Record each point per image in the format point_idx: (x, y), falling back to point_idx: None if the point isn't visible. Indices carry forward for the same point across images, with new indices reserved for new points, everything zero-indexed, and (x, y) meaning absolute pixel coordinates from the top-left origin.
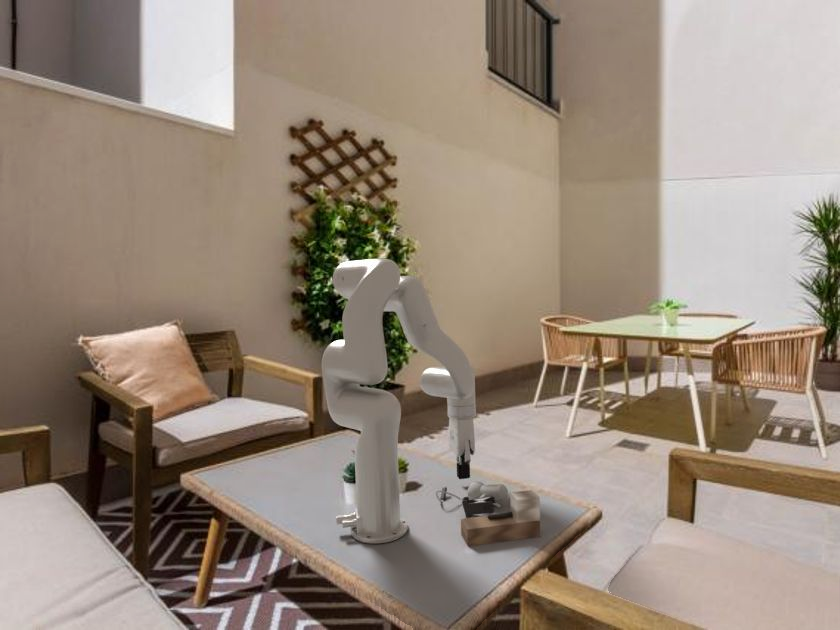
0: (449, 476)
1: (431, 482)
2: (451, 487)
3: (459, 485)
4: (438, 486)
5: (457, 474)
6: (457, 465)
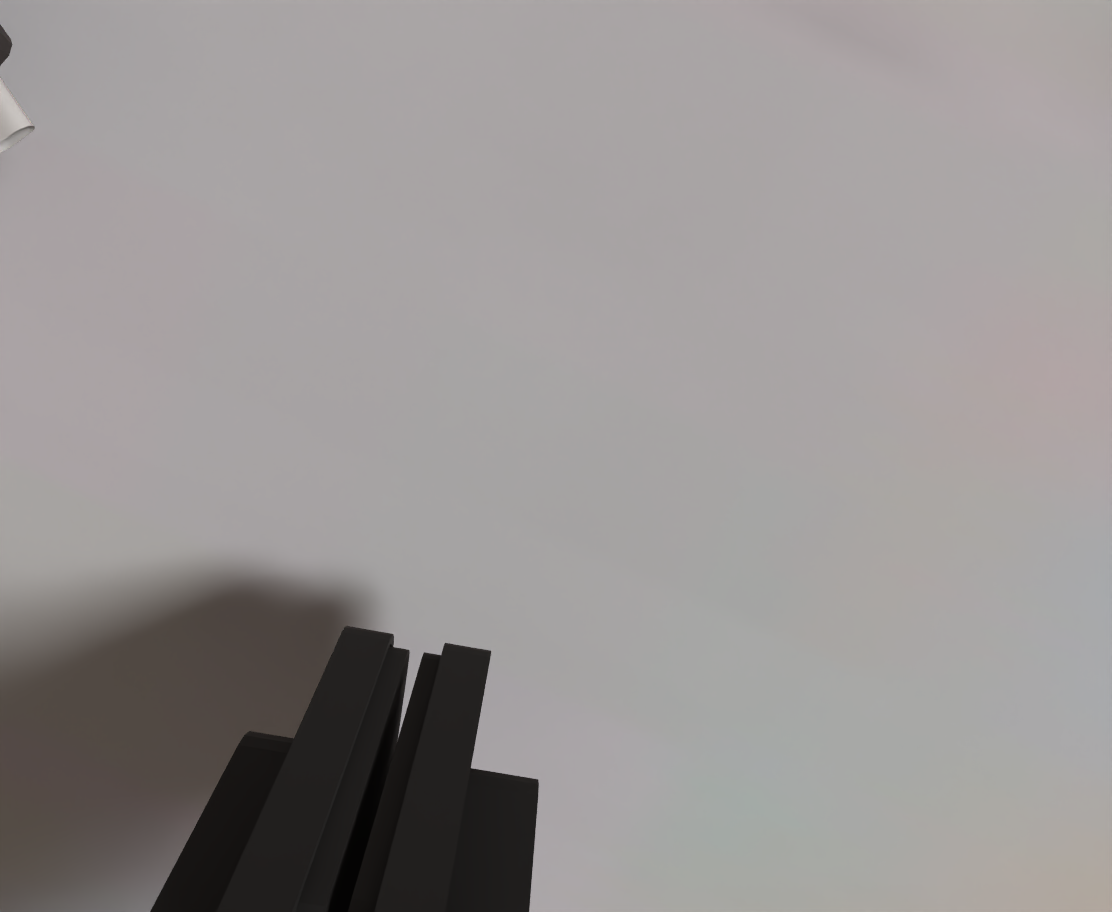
0: (1013, 598)
1: (939, 77)
2: (429, 387)
3: (462, 570)
4: (612, 139)
5: (431, 680)
6: (382, 880)
